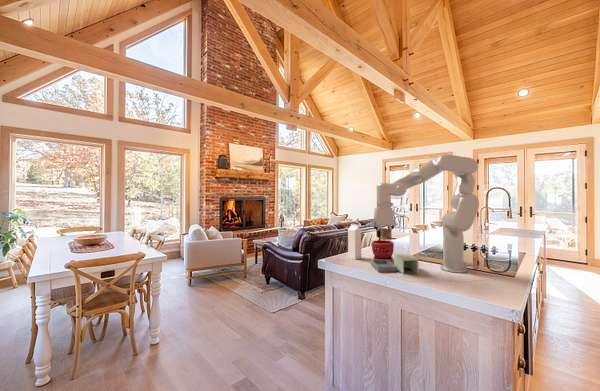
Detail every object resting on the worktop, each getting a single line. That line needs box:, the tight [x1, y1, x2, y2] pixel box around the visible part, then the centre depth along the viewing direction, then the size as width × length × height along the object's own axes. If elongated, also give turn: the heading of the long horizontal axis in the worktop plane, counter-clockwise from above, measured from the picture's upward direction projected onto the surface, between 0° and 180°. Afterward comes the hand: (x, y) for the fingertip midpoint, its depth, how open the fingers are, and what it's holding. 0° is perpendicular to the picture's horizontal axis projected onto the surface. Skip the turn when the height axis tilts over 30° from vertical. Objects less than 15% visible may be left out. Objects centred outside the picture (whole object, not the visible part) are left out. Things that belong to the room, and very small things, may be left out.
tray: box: [370, 259, 398, 273], centre depth 147 cm, size 10×15×3 cm, turn 0°
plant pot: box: [371, 239, 395, 262], centre depth 163 cm, size 13×13×12 cm
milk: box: [347, 223, 362, 260], centre depth 169 cm, size 6×6×22 cm
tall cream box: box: [393, 252, 419, 275], centre depth 142 cm, size 8×12×8 cm
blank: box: [375, 227, 392, 241], centre depth 146 cm, size 5×10×5 cm, turn 1°
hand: (383, 237), depth 146 cm, fingers closed on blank, 5 cm apart
